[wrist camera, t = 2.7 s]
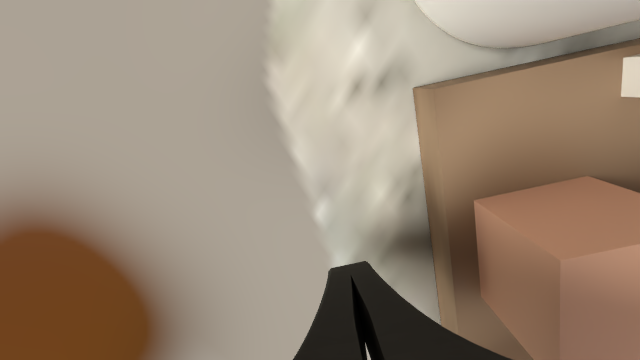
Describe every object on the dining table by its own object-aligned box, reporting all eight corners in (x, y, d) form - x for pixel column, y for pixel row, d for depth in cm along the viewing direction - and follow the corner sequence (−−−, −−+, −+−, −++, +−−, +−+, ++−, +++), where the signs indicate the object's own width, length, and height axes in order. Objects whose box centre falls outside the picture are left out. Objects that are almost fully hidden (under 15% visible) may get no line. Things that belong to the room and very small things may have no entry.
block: (584, 274, 12) (708, 360, 9) (481, 296, 13) (559, 390, 9) (588, 175, 11) (733, 223, 8) (473, 200, 11) (560, 260, 8)
